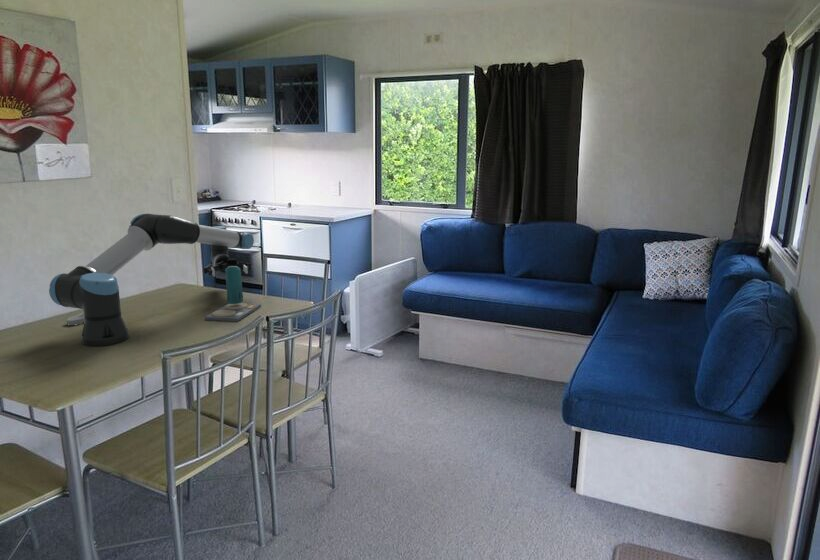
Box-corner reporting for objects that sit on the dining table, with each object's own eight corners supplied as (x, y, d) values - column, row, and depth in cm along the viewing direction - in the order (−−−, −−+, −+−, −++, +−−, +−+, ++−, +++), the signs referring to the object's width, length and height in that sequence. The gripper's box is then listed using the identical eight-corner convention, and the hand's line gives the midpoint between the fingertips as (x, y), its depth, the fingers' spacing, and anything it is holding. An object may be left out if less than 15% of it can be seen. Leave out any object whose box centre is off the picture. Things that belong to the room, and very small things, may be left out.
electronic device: (60, 302, 227) (92, 291, 241) (64, 326, 230) (96, 314, 244) (70, 303, 226) (102, 292, 239) (74, 327, 228) (106, 316, 242)
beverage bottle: (241, 307, 247) (237, 260, 243) (225, 307, 247) (221, 260, 243) (245, 303, 253) (242, 257, 249) (230, 303, 254) (226, 257, 249)
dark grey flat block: (238, 321, 234) (237, 317, 233) (204, 319, 236) (204, 316, 235) (261, 306, 255) (260, 302, 254) (230, 305, 257) (230, 301, 257)
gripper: (251, 268, 281) (260, 277, 262) (195, 273, 270) (200, 283, 252) (250, 252, 279) (259, 260, 260) (194, 257, 269) (199, 266, 250)
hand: (230, 272), depth 256 cm, fingers open, 13 cm apart
